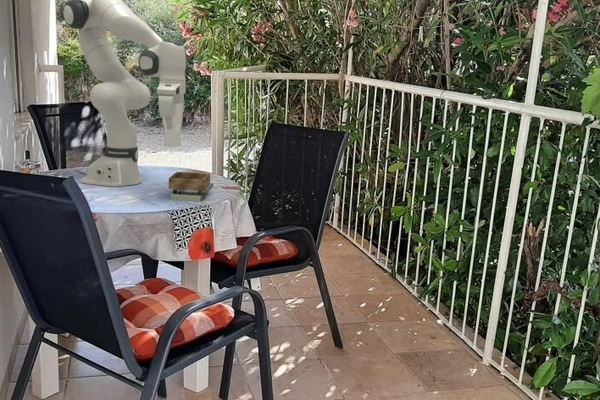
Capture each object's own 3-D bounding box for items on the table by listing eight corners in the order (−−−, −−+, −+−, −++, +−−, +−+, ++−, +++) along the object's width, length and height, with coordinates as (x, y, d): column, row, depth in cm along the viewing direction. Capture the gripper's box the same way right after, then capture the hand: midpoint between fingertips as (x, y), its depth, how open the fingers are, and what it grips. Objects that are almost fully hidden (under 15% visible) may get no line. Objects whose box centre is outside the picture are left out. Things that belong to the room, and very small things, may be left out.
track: (170, 199, 215) (170, 194, 214) (186, 183, 241) (186, 179, 241) (200, 201, 215) (200, 195, 214) (213, 185, 241) (213, 180, 241)
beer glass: (186, 146, 212) (186, 103, 209) (169, 147, 208) (168, 103, 205) (175, 144, 217) (175, 102, 214) (158, 145, 212) (158, 102, 209)
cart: (168, 195, 215) (168, 178, 214) (176, 187, 228) (176, 171, 226) (203, 197, 215) (203, 180, 214) (209, 189, 228) (210, 173, 226)
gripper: (171, 86, 218) (171, 124, 222) (155, 89, 198) (155, 131, 202) (188, 87, 218) (188, 125, 221) (174, 90, 198) (173, 132, 201)
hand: (172, 128), depth 211 cm, fingers closed on beer glass, 6 cm apart
